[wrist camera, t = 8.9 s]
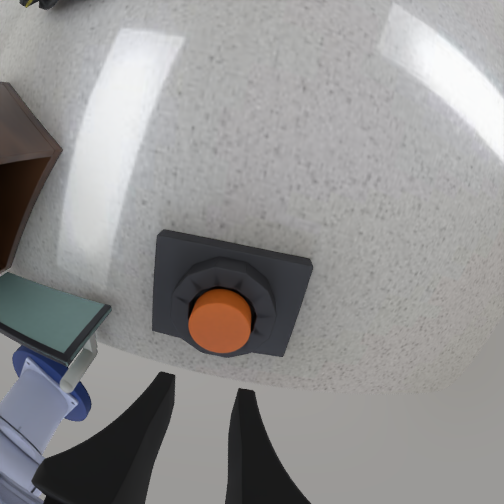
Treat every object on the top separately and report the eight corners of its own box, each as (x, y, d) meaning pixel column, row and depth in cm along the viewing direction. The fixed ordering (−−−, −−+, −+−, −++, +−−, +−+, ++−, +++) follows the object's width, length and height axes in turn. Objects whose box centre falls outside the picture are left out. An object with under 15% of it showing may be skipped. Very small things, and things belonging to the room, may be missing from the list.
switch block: (157, 321, 21) (144, 344, 18) (163, 229, 18) (146, 243, 15) (282, 346, 21) (284, 372, 18) (310, 258, 18) (319, 277, 16)
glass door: (117, 354, 21) (84, 410, 14) (17, 315, 20) (-21, 350, 14) (111, 305, 19) (66, 361, 12) (7, 271, 18) (-39, 303, 12)
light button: (191, 330, 18) (185, 346, 16) (197, 282, 16) (191, 296, 15) (245, 341, 18) (244, 358, 16) (256, 294, 17) (256, 310, 15)
